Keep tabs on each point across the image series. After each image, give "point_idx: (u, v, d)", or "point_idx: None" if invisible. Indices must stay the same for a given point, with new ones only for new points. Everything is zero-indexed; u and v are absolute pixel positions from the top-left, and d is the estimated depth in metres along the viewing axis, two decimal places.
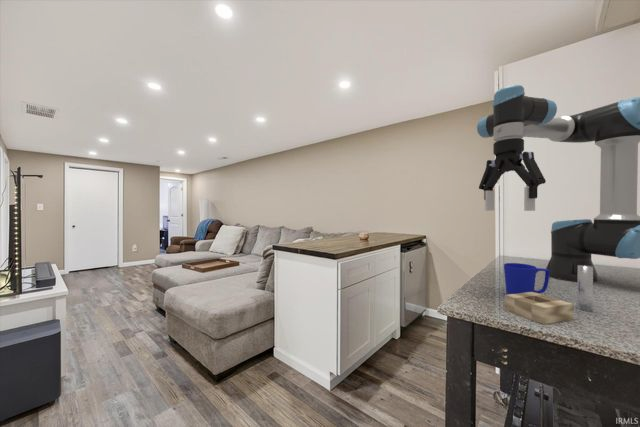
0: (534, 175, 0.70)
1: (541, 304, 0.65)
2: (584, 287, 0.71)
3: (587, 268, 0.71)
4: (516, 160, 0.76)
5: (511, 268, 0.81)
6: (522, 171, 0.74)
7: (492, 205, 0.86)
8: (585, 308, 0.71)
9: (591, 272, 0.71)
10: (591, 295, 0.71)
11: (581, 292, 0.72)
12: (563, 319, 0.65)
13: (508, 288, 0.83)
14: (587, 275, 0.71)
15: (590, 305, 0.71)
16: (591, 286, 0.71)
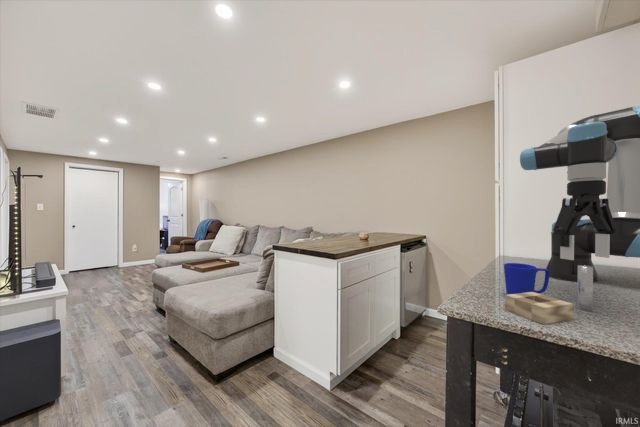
0: None
1: (541, 304, 0.65)
2: (584, 287, 0.71)
3: (587, 268, 0.71)
4: None
5: (511, 268, 0.81)
6: None
7: (604, 252, 0.73)
8: (585, 308, 0.71)
9: (591, 272, 0.71)
10: (591, 295, 0.71)
11: (581, 292, 0.72)
12: (563, 319, 0.65)
13: (508, 288, 0.83)
14: (587, 275, 0.71)
15: (590, 305, 0.71)
16: (591, 286, 0.71)
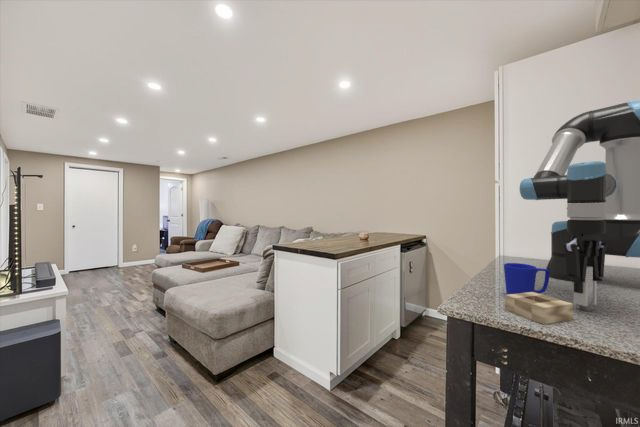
0: None
1: (541, 304, 0.65)
2: None
3: (587, 268, 0.71)
4: None
5: (511, 268, 0.81)
6: None
7: None
8: (585, 308, 0.71)
9: (591, 272, 0.71)
10: (591, 295, 0.71)
11: None
12: (563, 319, 0.65)
13: (508, 288, 0.83)
14: (587, 275, 0.71)
15: (590, 305, 0.71)
16: (591, 286, 0.71)
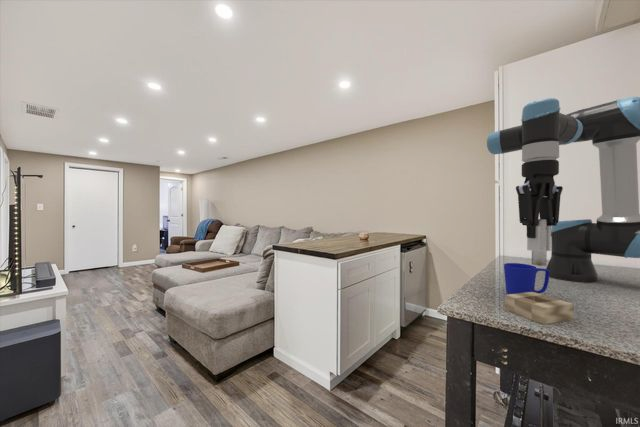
0: None
1: (541, 304, 0.65)
2: None
3: (540, 220, 0.68)
4: None
5: (511, 268, 0.81)
6: None
7: None
8: (538, 263, 0.68)
9: (544, 225, 0.67)
10: (544, 249, 0.68)
11: None
12: (563, 319, 0.65)
13: (508, 288, 0.83)
14: (540, 227, 0.68)
15: (543, 259, 0.68)
16: (544, 239, 0.68)
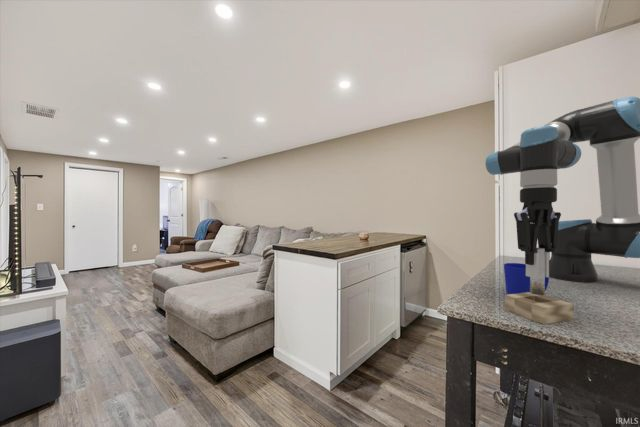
0: None
1: (541, 304, 0.65)
2: None
3: (538, 250, 0.68)
4: None
5: (511, 268, 0.81)
6: None
7: None
8: (536, 292, 0.68)
9: (543, 254, 0.68)
10: (542, 278, 0.68)
11: None
12: (563, 319, 0.65)
13: (508, 288, 0.83)
14: (539, 257, 0.68)
15: (541, 289, 0.68)
16: (542, 269, 0.68)
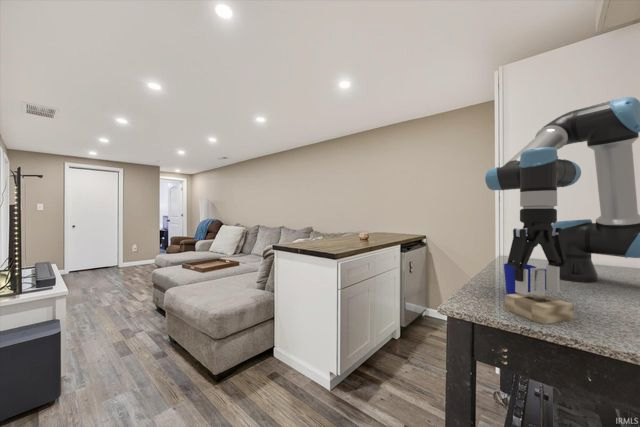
0: None
1: (541, 304, 0.65)
2: (536, 291, 0.68)
3: (539, 271, 0.68)
4: None
5: (511, 268, 0.81)
6: None
7: (554, 285, 0.70)
8: None
9: (543, 276, 0.68)
10: (543, 299, 0.68)
11: (533, 296, 0.69)
12: (563, 319, 0.65)
13: (508, 288, 0.83)
14: (539, 278, 0.68)
15: None
16: (543, 290, 0.68)
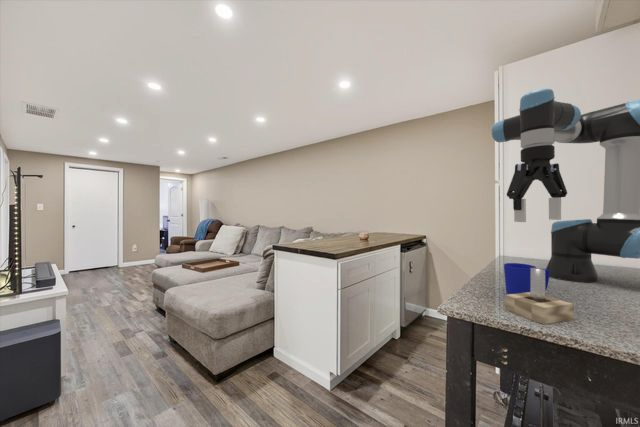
0: None
1: (541, 304, 0.65)
2: (536, 291, 0.68)
3: (539, 271, 0.68)
4: None
5: (511, 268, 0.81)
6: (521, 182, 0.75)
7: (556, 214, 0.77)
8: None
9: (543, 276, 0.68)
10: (543, 299, 0.68)
11: (533, 296, 0.69)
12: (563, 319, 0.65)
13: (508, 288, 0.83)
14: (539, 278, 0.68)
15: None
16: (543, 290, 0.68)
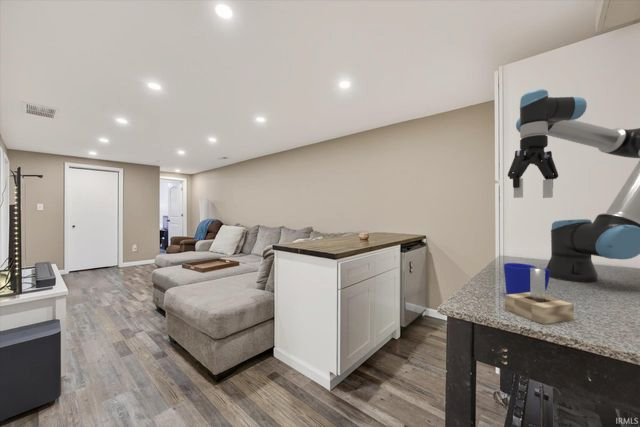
0: None
1: (541, 304, 0.65)
2: (536, 291, 0.68)
3: (539, 271, 0.68)
4: None
5: (511, 268, 0.81)
6: (520, 165, 0.91)
7: (549, 193, 0.93)
8: None
9: (543, 276, 0.68)
10: (543, 299, 0.68)
11: (533, 296, 0.69)
12: (563, 319, 0.65)
13: (508, 288, 0.83)
14: (539, 278, 0.68)
15: None
16: (543, 290, 0.68)
